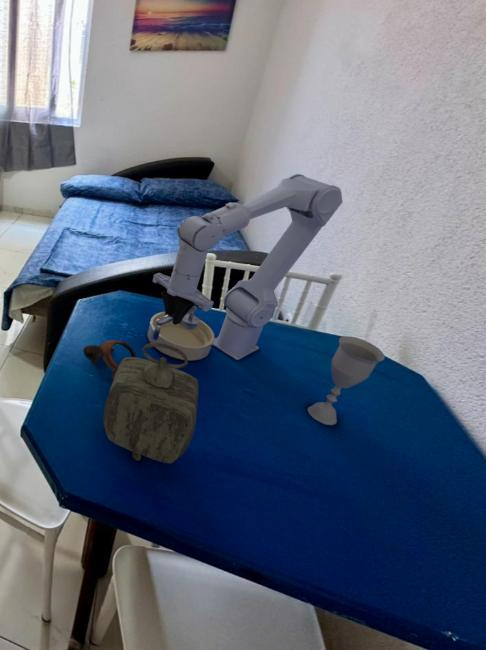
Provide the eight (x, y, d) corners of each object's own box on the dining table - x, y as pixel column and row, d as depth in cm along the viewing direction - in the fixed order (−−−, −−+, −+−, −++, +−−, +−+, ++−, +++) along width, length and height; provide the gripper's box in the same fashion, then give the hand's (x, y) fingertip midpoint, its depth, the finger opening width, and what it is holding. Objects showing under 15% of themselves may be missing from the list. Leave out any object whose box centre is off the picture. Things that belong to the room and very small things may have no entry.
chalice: (349, 432, 82) (393, 364, 73) (312, 426, 83) (351, 358, 74) (331, 404, 88) (370, 339, 79) (296, 399, 89) (331, 333, 80)
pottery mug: (120, 352, 102) (138, 339, 95) (123, 389, 96) (142, 378, 90) (76, 342, 100) (91, 328, 93) (76, 379, 95) (92, 367, 88)
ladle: (186, 318, 104) (191, 299, 101) (201, 327, 100) (207, 307, 98) (145, 335, 97) (150, 315, 94) (160, 345, 93) (165, 325, 91)
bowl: (172, 319, 115) (176, 305, 112) (222, 350, 103) (227, 336, 101) (134, 334, 108) (138, 321, 106) (182, 370, 96) (187, 355, 94)
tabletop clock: (180, 447, 77) (218, 344, 65) (175, 487, 70) (216, 380, 58) (105, 418, 83) (127, 319, 71) (93, 453, 76) (115, 348, 64)
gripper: (148, 260, 93) (137, 309, 100) (204, 290, 82) (188, 343, 89) (169, 254, 96) (157, 302, 103) (225, 282, 85) (208, 333, 92)
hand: (172, 320), depth 96 cm, fingers closed on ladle
